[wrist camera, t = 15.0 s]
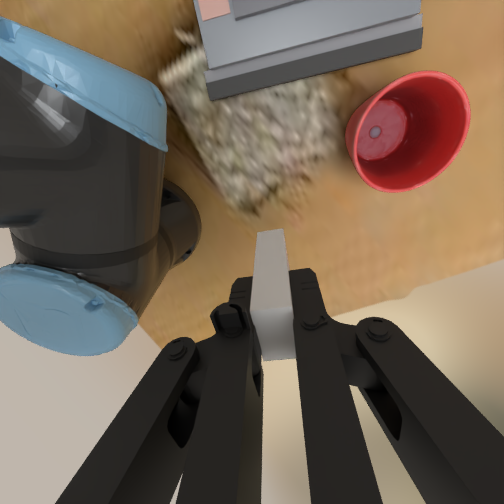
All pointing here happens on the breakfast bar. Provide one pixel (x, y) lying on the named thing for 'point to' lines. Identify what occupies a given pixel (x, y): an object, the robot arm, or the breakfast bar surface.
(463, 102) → the flower pot
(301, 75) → the long gray bar
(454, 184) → the breakfast bar surface
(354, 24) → the breaker panel
